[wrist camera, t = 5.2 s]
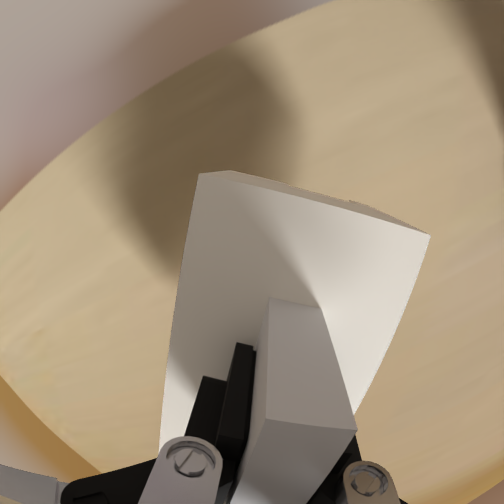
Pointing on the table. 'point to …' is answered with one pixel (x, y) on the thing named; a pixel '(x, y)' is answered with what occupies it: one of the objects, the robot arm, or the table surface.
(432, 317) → the table surface
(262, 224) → the white stepped block
